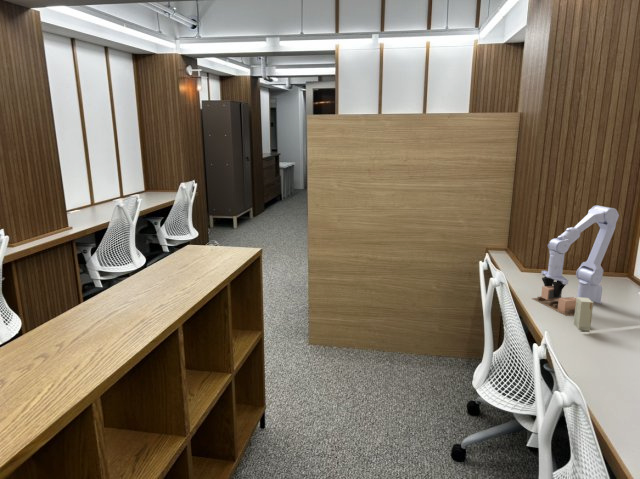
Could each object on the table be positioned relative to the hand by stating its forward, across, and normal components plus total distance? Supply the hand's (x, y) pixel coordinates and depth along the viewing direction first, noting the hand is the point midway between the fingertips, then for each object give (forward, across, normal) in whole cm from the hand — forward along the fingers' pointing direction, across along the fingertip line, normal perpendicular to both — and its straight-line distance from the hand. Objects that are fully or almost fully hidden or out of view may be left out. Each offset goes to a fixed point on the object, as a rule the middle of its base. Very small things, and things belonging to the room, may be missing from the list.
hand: (552, 295), depth 211 cm
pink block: (+3, +10, 0) cm, 11 cm away
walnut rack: (+4, +4, +1) cm, 6 cm away
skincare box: (+5, +26, -8) cm, 28 cm away
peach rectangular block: (+2, 0, 0) cm, 2 cm away
